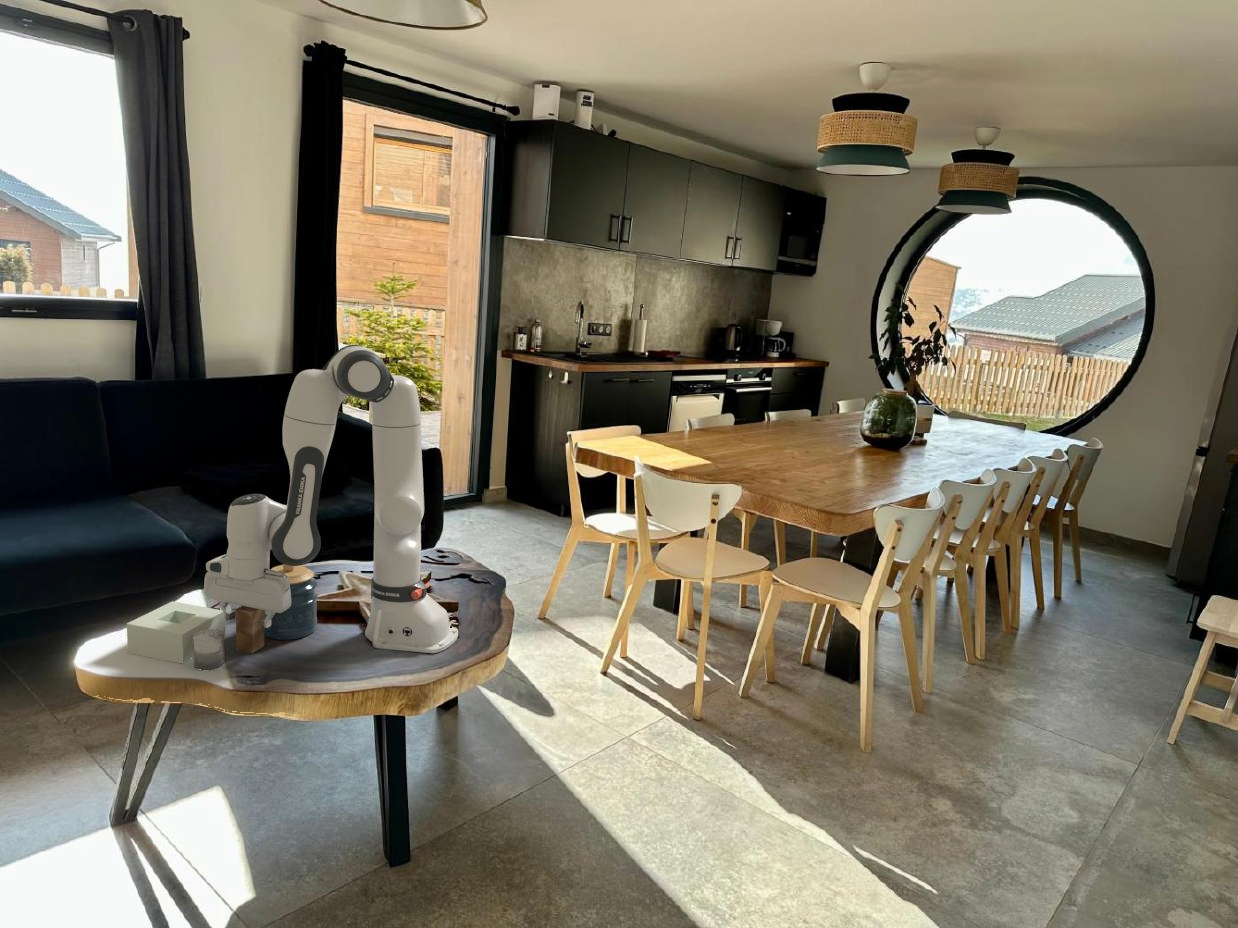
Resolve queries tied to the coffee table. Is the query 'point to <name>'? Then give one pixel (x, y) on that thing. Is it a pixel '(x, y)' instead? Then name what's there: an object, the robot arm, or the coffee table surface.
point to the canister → (296, 606)
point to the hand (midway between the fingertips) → (247, 622)
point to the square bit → (249, 629)
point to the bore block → (171, 631)
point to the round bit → (208, 649)
